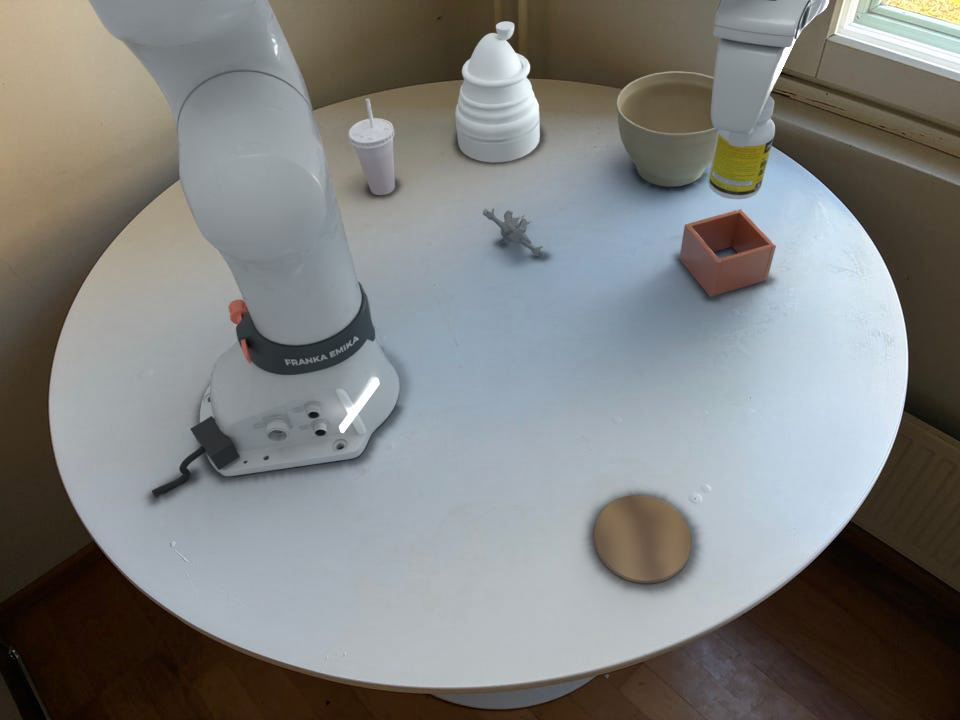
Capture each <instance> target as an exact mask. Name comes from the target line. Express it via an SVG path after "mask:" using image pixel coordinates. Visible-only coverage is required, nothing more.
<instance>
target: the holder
mask: <svg viewBox="0 0 960 720" xmlns="http://www.w3.org/2000/svg"><path fill="white" fill-rule="evenodd" d="M683 226H684V227H683V234H682V240H681V246H680V253H679V260H680V261H681V263H682V264H683V265H684V267H685V268H686V269H687V270H688V271H689V272H690V274H691V275H692V276H693V278H694V279H695V280H696V282H697V283H698V284H699V285H700V286H701V288H702V289H703V291H705V292H706V294H707V295H708V297H709V298H712V297H714V296H715V297H716V296H719V295H723V294H725V293H729V292H732V291H737V290H738V289H742V288H746V287H749V286H752V285H756V284H760V283H762V282H766V281H768V278H769V274H770V270H771V267H772V263H773V259H774V255H775V252H776V248H777V245H776V244H775V243H774V242H773V241H772V240H771V238H769V237H768V236H767V234H765V232H764V231H763V230H762V229H761V228H760V227H759V226H758V224H756V223H755V222H754V221H753V220H752V219H751V218H750V216H748V214H746V212H745V211H743V209H741V208H740V209H737V210H732V211H728V212H725V213H721V214H718V215H714V216H710V217H707V218H704V219H700V220H696V221H693V222H689V223H686V224H684V225H683ZM729 248H733V250H735V252H736V253H734V254H731V255H727V256H723V257H721V258H719V257H718V256H717V255H716V254H715V252H718V251H723V250H727V249H729Z"/></svg>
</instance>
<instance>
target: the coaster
mask: <svg viewBox="0 0 960 720" xmlns="http://www.w3.org/2000/svg"><path fill="white" fill-rule="evenodd" d="M593 542H594V546H595V550H596V553H597V555H598V557H599V559H600V560H601V562H602V563H603V565H605V567H607V568H608V570H610V571H611V572H612V573H613V574H615V575H617V576H618V577H620V578H622V579H623V580H626V581H629V582H632V583H637V584H657V583H661V582H664V581H667V580H669V579H671V578H672V577H674V576H675V575H677V574H678V573H679V572H681V570H682V569H683V568H684V566H685V565H686V563H687V562H688V559H689V558H690V554H691V549H692V535H691V531H690V529H689V526H688V523H687V522H686V520H685V519H684V517H683V516H682V514H681V513H680V512H679V511H678V510H677V509H675V508H674V506H672V505H670V504H669V503H667V502H666V501H664V500H661V499H659V498H656V497H653V496H648V495H643V494H642V495H641V494H635V495H627V496H623V497H619V498H617V499H615V500H613V501H612V502H611V503H609V504H608V505H606V506H605V507H604V508H603V509H602V511H601V512H600V513H599V515H598V517H597V518H596V521H595V524H594V529H593Z"/></svg>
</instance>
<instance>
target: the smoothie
mask: <svg viewBox="0 0 960 720" xmlns="http://www.w3.org/2000/svg"><path fill="white" fill-rule="evenodd" d="M365 106H366V110H367V115H368V118H366V119H362V120H360V121H358V122H356V123H354V124H353V125H352V126H351V127H350V128H349V130H348V138H349V139H348V140H349V143H350V144H351V145H352V146H353V147H354V151H355V153H356V155H357V158H358V161H359V163H360V166H361V168H362V171H363V174H364V176H365V180H366V182H367V185H368V187H369V190H370V192H371V193H372V194H373V195H375V196H385V195H388V194H391V193H392V192H393V191H394V190H395V189H396V177H395V176H396V175H395V160H394V159H395V157H394V137H395V130H394V124H392V122H391V121H389V120H387V119H384V118H380V117H379V118H378V117H374V114H373V110H372V105H371V100H370V98H369V97H368V98H365Z"/></svg>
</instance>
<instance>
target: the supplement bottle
mask: <svg viewBox="0 0 960 720" xmlns="http://www.w3.org/2000/svg"><path fill="white" fill-rule="evenodd" d="M774 108H775V100H774V98H773V97H772V96H771V95H769V97H768V99H767V101H766V104H765V106H764V108H763V110H762V112H761V114H760V116H759V118H758V121H757V123H756V126H755V128H754V129H753V131H752V132H751V136H750V139H749V141H748V143H747V145H746V146H745V147H737V146H732V145H730V144H729V142H728V139H729V133H730V132H729V131H724V130H719V129H718V133H717V138H716V143H715V148H714V153H713V158H712V163H711V164H710V168H709V174H708V179H707V180H708V181H707V182H708V183H707V184H708V186H709V188H710V190H712V191H713V193H714V194H716V195H718V196H720V197H721V198H724V199H728V200H745V199H749V198H752V197H754V196H756V194H758V193H759V191H760V189H761V187H762V184H763V181H764V176H765V173H766V170H767V169H766V168H767V165H768V161H769V157H770V153H771V149H772V145H773V141H774V138H775V134H776V126H775V123H774V120H772V119H771V118H772V116H773V112H774Z"/></svg>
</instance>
